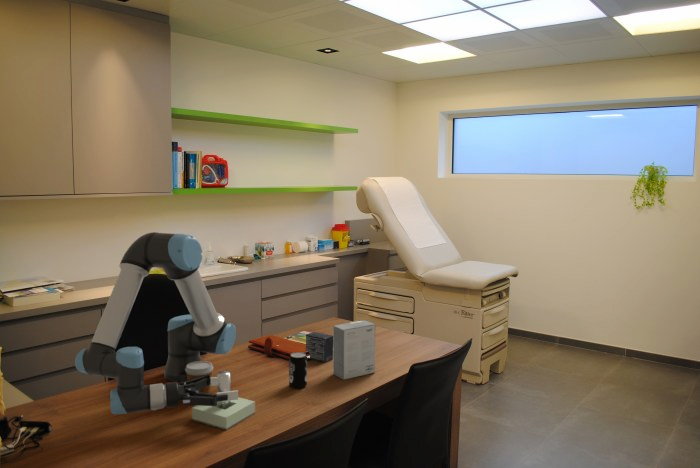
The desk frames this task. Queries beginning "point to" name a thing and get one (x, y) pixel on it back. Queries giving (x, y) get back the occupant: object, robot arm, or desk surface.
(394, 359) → the desk surface
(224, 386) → the pin
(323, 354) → the small box
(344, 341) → the hard drive box
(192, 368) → the disposable coffee cup
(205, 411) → the socket block
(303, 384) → the beverage can
